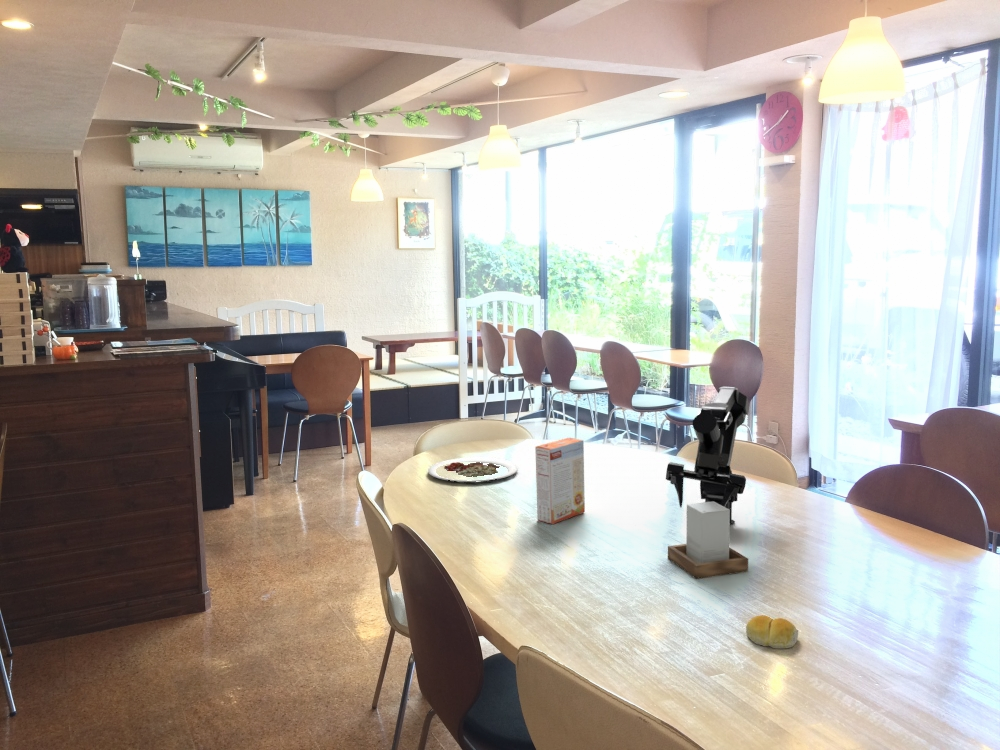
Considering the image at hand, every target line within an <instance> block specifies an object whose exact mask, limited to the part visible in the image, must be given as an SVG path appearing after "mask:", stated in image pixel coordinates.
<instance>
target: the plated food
mask: <svg viewBox="0 0 1000 750" xmlns="http://www.w3.org/2000/svg"><path fill="white" fill-rule="evenodd" d="M460 462H476V463H470V464H468V465H464V464H463V463H460ZM480 462H481V463H480ZM450 463H451V464H450ZM483 463H489V464H487V465H488V466H487V465H483ZM446 464H450V465H447V466H444V469H446V470H447V471H456V473H458V475H463V476H466V477H472V476H473V477H477V476H484V475H492V474H495V473H498V471H497V470H496V468H499V467H500V466H496V465H501V466H503V467H506V468H507V469H508V473H507V474H505V475H503V476H500V477H497V478H493V479H486V480H472V481H467V480H454V479H448V478H444V477H441V476H439V475H438V474H437V473H436V469H437V468H438V467H440V466H443V465H446ZM494 464H496V465H494ZM518 471H519V467H518V465H517V464H516V463H515V462H513V461H510V460H507V459H501V458H496V457H494V458H493V457H481V456H480V457H478V456H477V457H460V458H451V459H447V460H443V461H442V460H441V461H439V462H437V463H434V464H432V465H430V466H429V468H428V471H427V473H428V474H429V475H430V476H432V477H434V478H437V479H439V480H444V481H448V480H450V481H449V482H454V481H460V482H459V483H464V482H475V483H477V482H476V481H487V482H490V481H489V480H493V481H496V480H495V479H497V480H500V479H503V478H504V479H505V478H507V477H510V476H513V475H514V474H516V473H517V472H518Z"/></svg>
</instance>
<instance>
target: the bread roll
mask: <svg viewBox="0 0 1000 750" xmlns="http://www.w3.org/2000/svg"><path fill="white" fill-rule="evenodd" d="M745 634H746V635H747V638H748V639H750V640H751V641H752V642H753V643H755V644H756V645H760V646H763V647H768V646H769V647H770V648H773V649H778V650H779V649H780V650H781V649H782V650H784V649H790V648H793V646H795V645H796V643H797V641H798V638H799V629H797V627H796V626H795V625H794V623H792V622H791V621H789V620H788V619H786V618H782V617H778V618H774V619H773V618H772V617H770V616H768V615H764V614H761V615H756V616H753V617H752V618H751V619H749V620H748V622H747V623H746V625H745Z"/></svg>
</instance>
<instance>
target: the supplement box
mask: <svg viewBox="0 0 1000 750" xmlns="http://www.w3.org/2000/svg"><path fill="white" fill-rule="evenodd" d="M730 525H731V524H730V510H729V509H727V508H725V507H724V506H722V505H720V504H718V503H716V502H714V501H712V502H705V501H703V502H695V503H687V504H686V542H685V544H686V556H688V557H689V558H691V559H692V560H694V561H695V562H697V563H698V564H700V563H707V562H714V561H721V560H728V559H729V547H730V527H731V526H730Z"/></svg>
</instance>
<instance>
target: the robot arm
mask: <svg viewBox="0 0 1000 750" xmlns="http://www.w3.org/2000/svg"><path fill="white" fill-rule="evenodd" d="M749 403H750V402H749V399H748V397H747V396H746V395H745V394H743V393H742V392H740V389H739V388H738V387H735V386H721V387H719V388H718V393H717V394H716V396H715V398H714V399H713V401H712V402H711V403H706V404H704V405H703V406H702V407H701V409H699V410H698V413H697V415H696V416H695V417H694V418H693V420H692V428H693V430H694V434H695V436H696V438H697V440H698V447H697V451H696V456H695V457H696V458H695V463H694V470H688V469H685V468H684V467H685V464H683V463H678V462H677V463H676V462H672V461H670V462H668V463H667V467H666V472H665V480H667V481H670V482H669V483H670V484H671V485H673V486H674V488H675V491H676V493H677V499H678V505H679V508H682V506H683V501H684V479H689V480H693V481H694V480H695V481H699V482H700V483H699V489H700V490H699V491H700V499H701V500H704V502H712V501H714V502H716V503H718V504H720V505H722V506H724V507H725V508H727V509H729V510H730V525H731V524H735V522H736V521H735V520H734V519H732V516H733V515H732V513H733V512H732V511H733V508H732V507H733V503H734V502H737V501H738V498H739V497H738V495H742V494H743V493H744V491H745V487H746V484H747V478H746V477H745V475H742V474H736V473H733V470H732V469H731V464H732V463H731V461H732V456H733V450H734V446H735V441H736V436H737V431H738V428H739V427H740V426H741V425H743V424H744V423H745V421H746V417H747V416H748V414H749V411H750V410H749V409H750V404H749Z"/></svg>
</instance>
